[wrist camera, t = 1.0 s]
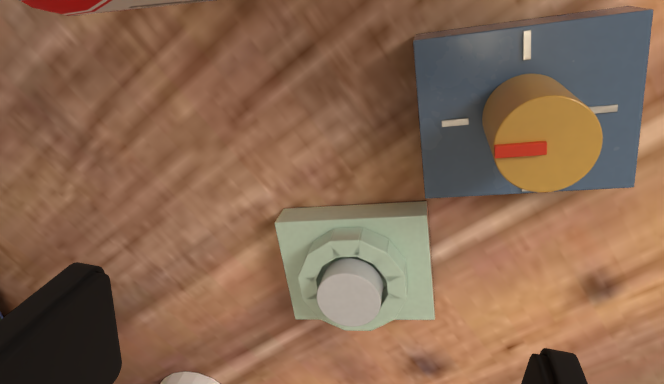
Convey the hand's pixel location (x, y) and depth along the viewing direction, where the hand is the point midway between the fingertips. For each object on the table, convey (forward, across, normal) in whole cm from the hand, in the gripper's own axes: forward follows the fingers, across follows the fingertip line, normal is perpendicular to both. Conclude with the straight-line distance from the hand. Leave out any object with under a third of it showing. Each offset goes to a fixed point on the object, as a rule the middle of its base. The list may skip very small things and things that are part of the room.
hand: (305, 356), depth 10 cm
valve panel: (+21, -8, -2) cm, 22 cm away
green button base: (+21, 0, +10) cm, 24 cm away
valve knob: (+18, -7, -2) cm, 20 cm away
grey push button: (+18, +1, +10) cm, 20 cm away
